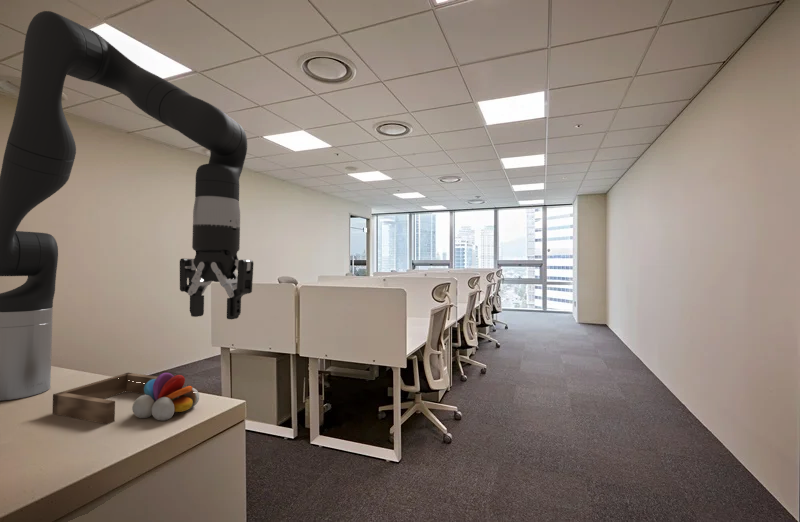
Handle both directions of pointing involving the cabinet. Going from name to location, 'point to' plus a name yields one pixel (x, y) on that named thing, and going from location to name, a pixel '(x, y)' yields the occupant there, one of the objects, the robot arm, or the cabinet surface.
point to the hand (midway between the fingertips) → (214, 317)
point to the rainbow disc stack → (165, 397)
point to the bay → (97, 397)
